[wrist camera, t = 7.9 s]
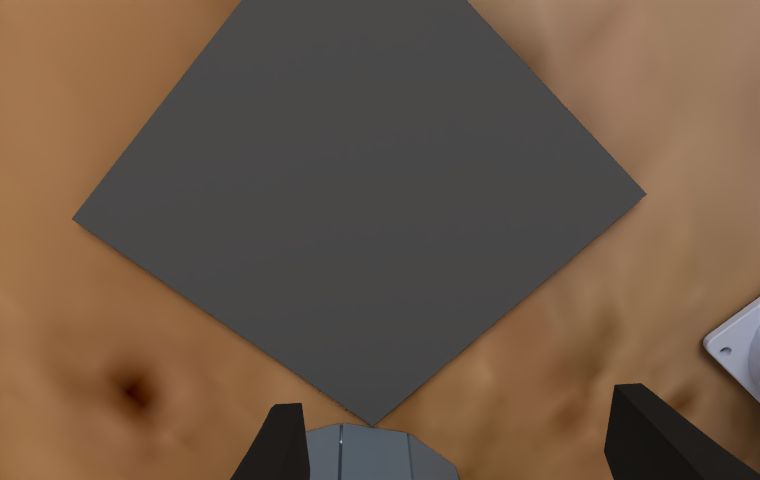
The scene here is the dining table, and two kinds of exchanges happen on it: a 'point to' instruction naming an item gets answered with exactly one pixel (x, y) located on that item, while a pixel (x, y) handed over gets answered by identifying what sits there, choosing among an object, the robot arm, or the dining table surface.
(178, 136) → the rubber mat
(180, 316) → the dining table surface
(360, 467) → the blue pet bowl
